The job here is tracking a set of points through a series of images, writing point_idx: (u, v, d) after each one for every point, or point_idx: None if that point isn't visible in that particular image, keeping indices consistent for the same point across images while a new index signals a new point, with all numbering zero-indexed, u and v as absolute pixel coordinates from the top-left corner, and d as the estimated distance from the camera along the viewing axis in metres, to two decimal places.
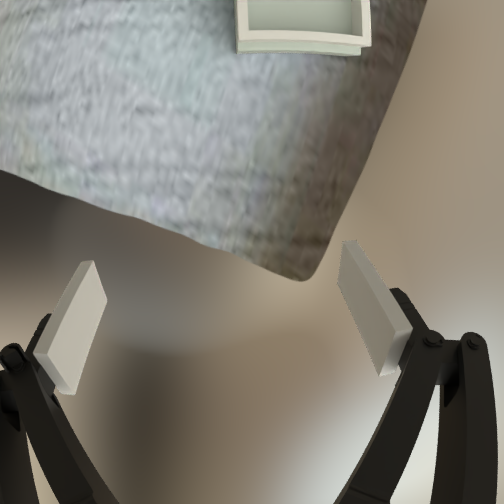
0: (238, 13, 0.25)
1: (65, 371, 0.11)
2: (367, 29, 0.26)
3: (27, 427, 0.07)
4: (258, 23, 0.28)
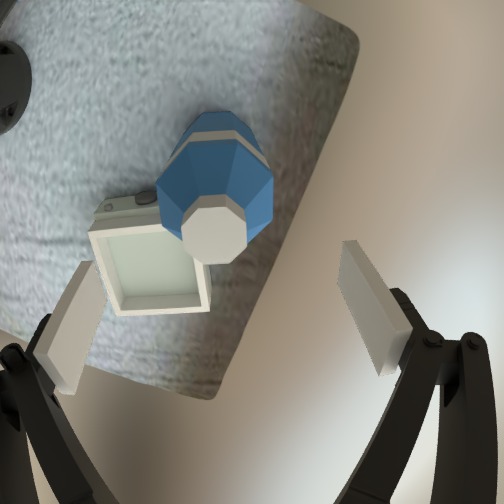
0: (111, 300, 0.42)
1: (65, 371, 0.11)
2: (205, 300, 0.44)
3: (27, 427, 0.07)
4: (130, 290, 0.45)
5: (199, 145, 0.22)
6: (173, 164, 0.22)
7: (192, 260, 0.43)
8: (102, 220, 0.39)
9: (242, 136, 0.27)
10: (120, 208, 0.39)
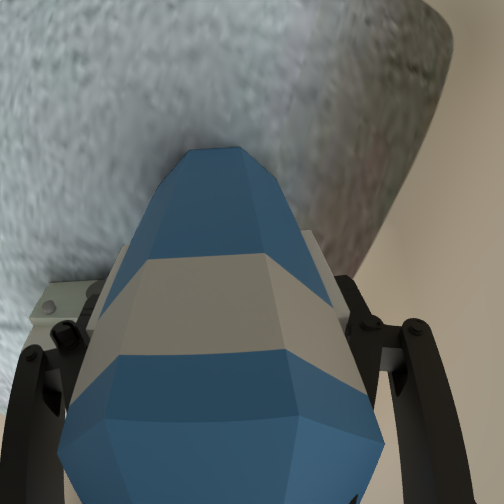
0: None
1: None
2: None
3: (68, 407, 0.08)
4: None
5: (149, 416, 0.05)
6: (81, 446, 0.05)
7: None
8: (42, 328, 0.22)
9: (283, 263, 0.11)
10: (66, 312, 0.23)
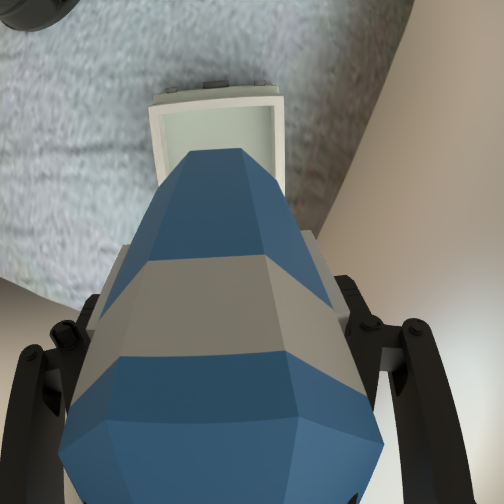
0: None
1: None
2: None
3: (68, 407, 0.08)
4: None
5: (150, 417, 0.05)
6: (82, 446, 0.05)
7: (266, 155, 0.37)
8: (163, 103, 0.32)
9: (283, 265, 0.11)
10: (187, 91, 0.32)
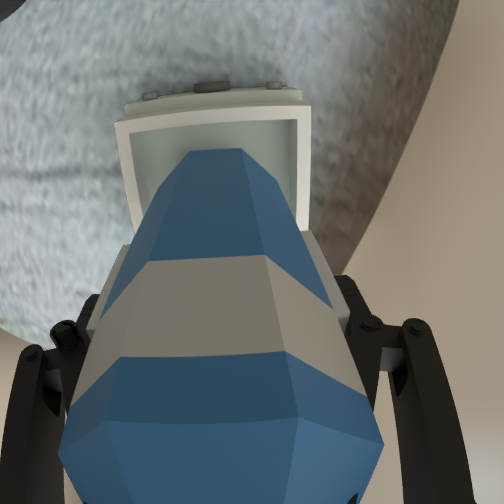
0: None
1: None
2: None
3: (68, 407, 0.08)
4: None
5: (150, 418, 0.05)
6: (82, 447, 0.05)
7: (281, 187, 0.27)
8: (138, 114, 0.23)
9: (283, 265, 0.11)
10: None
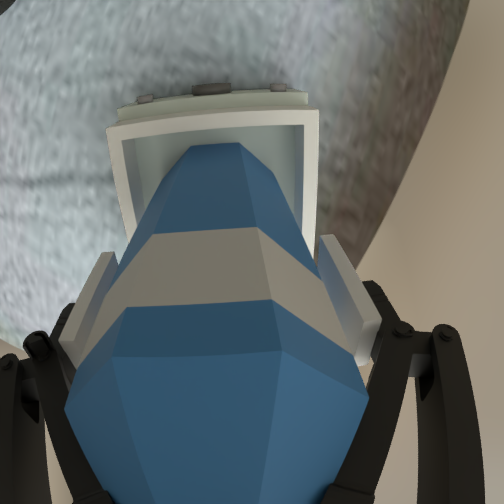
0: None
1: None
2: None
3: (46, 416, 0.08)
4: None
5: (151, 353, 0.06)
6: (88, 392, 0.07)
7: (286, 196, 0.26)
8: (132, 119, 0.21)
9: (274, 238, 0.12)
10: (168, 100, 0.21)
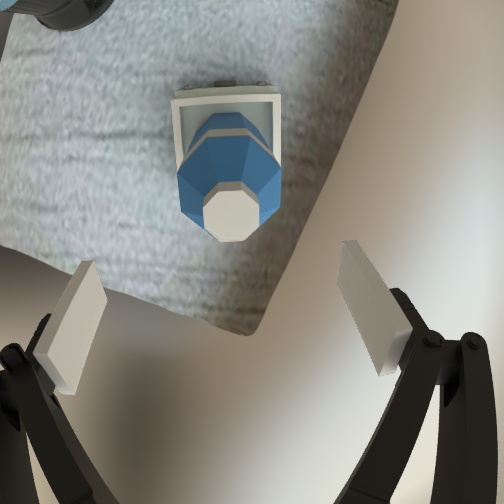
0: None
1: (65, 371, 0.11)
2: None
3: (27, 427, 0.07)
4: None
5: (216, 139, 0.25)
6: (193, 156, 0.25)
7: None
8: (182, 97, 0.39)
9: (252, 133, 0.30)
10: (202, 88, 0.40)
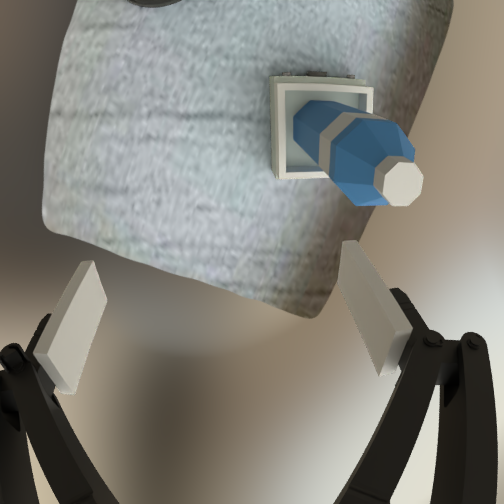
0: (279, 159, 0.45)
1: (65, 371, 0.11)
2: None
3: (27, 427, 0.07)
4: (291, 158, 0.48)
5: (371, 120, 0.27)
6: (352, 132, 0.27)
7: None
8: (282, 82, 0.41)
9: None
10: (299, 76, 0.41)
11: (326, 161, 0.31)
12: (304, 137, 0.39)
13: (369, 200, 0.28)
